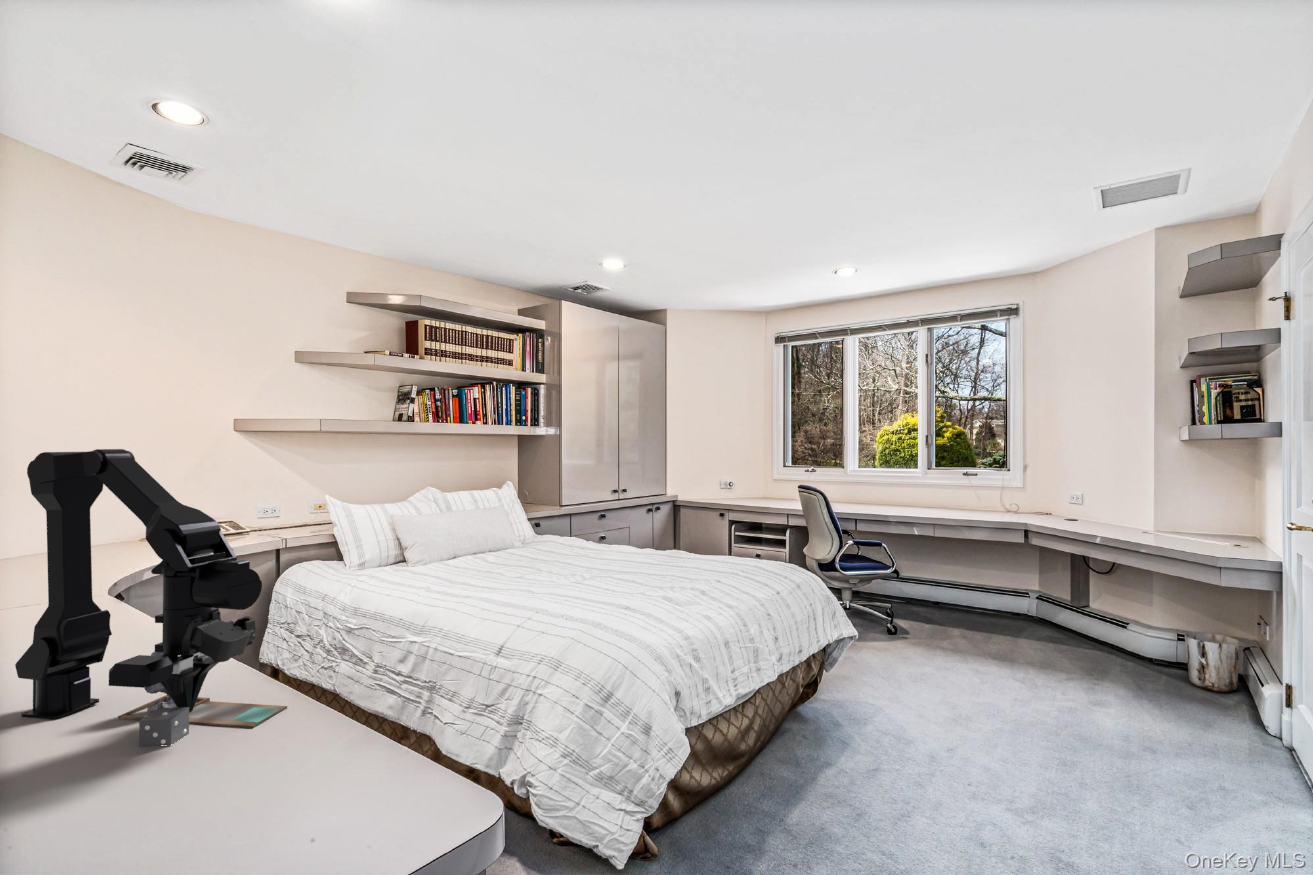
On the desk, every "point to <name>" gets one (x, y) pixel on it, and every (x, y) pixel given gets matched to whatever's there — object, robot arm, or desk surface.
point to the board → (233, 714)
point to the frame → (126, 715)
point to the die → (164, 727)
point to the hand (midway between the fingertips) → (186, 712)
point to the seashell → (159, 688)
